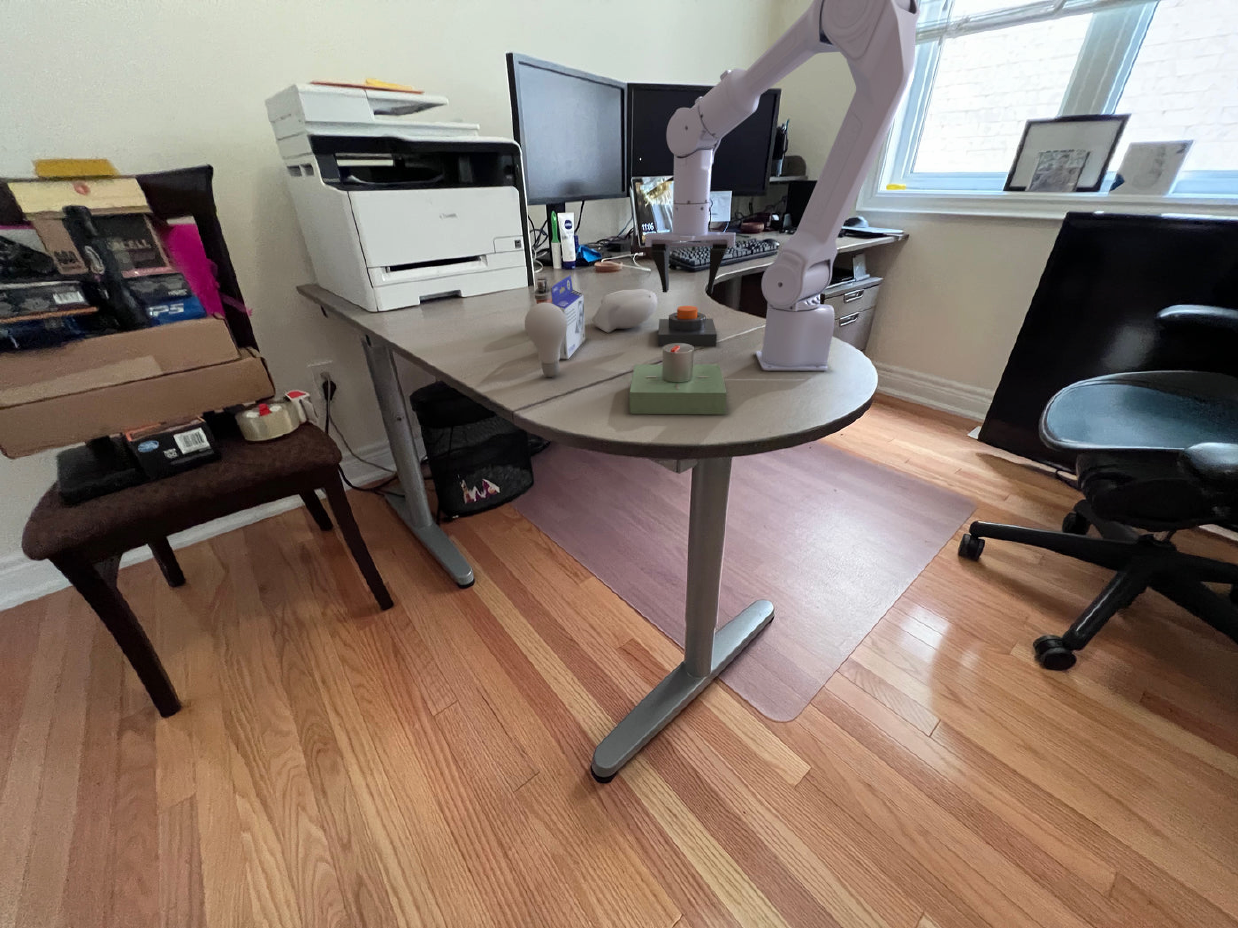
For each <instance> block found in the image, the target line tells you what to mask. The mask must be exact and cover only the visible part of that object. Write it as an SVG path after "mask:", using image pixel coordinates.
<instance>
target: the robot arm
mask: <svg viewBox="0 0 1238 928" xmlns="http://www.w3.org/2000/svg"><path fill="white" fill-rule="evenodd" d="M920 15H921V9H920V7H919V4H918V2H917V0H813V1H812V2H811V4H810V5H809V7H808V8H807V9H806V11H805V12H803V14H801V16H800V17H799V18H798V19H797V20H796V21H795V22H794V23H793V24H792V25H791V26H790V27H788V28H787V29H786V30H785V32H784V33H783V34H782V35H780V37H778V38H777V40H776V41H774V42H773V43H772V45H770V47H769V48H768V49H766V50H765V51H764V53H763V54H761V55H760V57H758V58H757V59H756V60H755V61H754V62H753V63H752V64H751V65H750V66H749V68H747V69H743V68H738V67H736V68H733V69H732V70H730V69H726V70H725V71H724V72H722V73H721V74H720V75H719V79H720V81H719V82H717V84H715V85H714V86H713V87H712V88H711V89H710V90H709V91H708V92H707V93H706V94H705V95H703V96H698V97H697V98H696V99H695V101H694V105H693V106H692V107H680V108H677V109H676V111H675V112H674V114H673V115H672V116H671V118H670V119H669V122H668V124H667V128H666V143H667V147H668V149H669V150H670V152H671V153H672V154H673V183H672V184H673V186H672V187H673V189H672V230H671V231H666V232H662V231H661V232H646V233H645V234H644V246H645V247H646V248H651V249H650V256H651V258H652V259H653V261H654V264H655V267H656V269H657V273H658V276H659V279H660V283H661V289H662V293H665V294H666V293H668V291H669V290H670V289H669V288H670V278H669V277H670V275H669V274H670V273H669V265H670V252H671V247H711V248H710V249H709V273H708V274H709V275H708V281H707V282H708V283H707V289H706V291H707V295H708V294H709V295H712V293H713V291H714V285H715V280H716V278H717V274H718V271H719V268H720V267H721V264H722V262H723V259H724V257H725V255H726V253H727V251H728V248H734V247H735V244H736V232H726V231H725V232H723V231H709V216H710V215H709V214H710V199H711V196H710V195H711V180H712V166H713V164H714V162H715V161H714V158H715V153H716V151H717V150H718V148H719V146H720V144H721V140H722V139H723V138H724V137H725V136H726V135H727V134H729V133H730V132H732V130H734V129H735V128H737V126H739V125H740V124H742V123H743V122H744V121H745V120H746V119H748V118H749V117H750V116H751V115H752V114H753V113H756V111H757V109H758V106H759V103H760V98H761V95H763V94H764V93H765V92H767V91H768V90H769V89H770V88H772V87H773V86H774V85H776V84H777V83H779V82H780V81H782V80H783V79H785V78H786V77H787V76H788V75H790V74H791V73H793V72H794V71H795V70H796V69H798V68H799V67H800V66H802V65H803V64H804V63H806V62H808V61H809V60H810V59H811V58H813V57H814V56H815V55H817V54H824V53H825V54H826V53H840V54H841V55H842V57H844V58H845V59H846V63H847V66H848V68H849V72H850V73H851V77H852V79H853V82H854V85H855V91H854V94H853V96H852V99H851V101H850V104H849V107H848V109H847V111H846V113H845V114H844V115H845V116H844V118H843V120H842V122H841V125H840V128H839V130H838V132H837V134H836V136H835V139H834V142H833V143H832V146H831V148H830V151H829V153H828V156H827V158H826V160H825V162H824V165H823V167H822V170H821V172H820V174H819V177H818V179H817V181H816V183H815V186H814V188H813V191H812V193H811V196H810V197H809V200H808V203H807V205H806V207H805V209H804V212H803V214H802V217H801V219H800V222H799V224H798V226H797V228H796V230H795V232H794V233H793V234H791V236H790V238H789V239H788V240H787V241H786V242H785V243H784V244H783V245H782V246H781V248H780V250H779V252H778V255H777V257H776V258H775V260H774V261H773V262H772V263H771V264H770V265H768V267H767V268H766V269H765V271H764V272H763V274H762V278H761V291H762V295H763V297H764V298H765V300H766V302H767V308H766V316H765V324H764V325H765V326H764V333H763V341H762V350H756V351H755V356H756V358H757V360H758V363H759V365H760V367H761V370H763V371H768V372H769V371H770V372H773V371H775V372H776V371H777V372H778V371H782V372H783V371H784V372H785V371H787V372H788V371H790V372H792V371H793V372H794V371H798V372H799V371H803V372H804V371H805V372H806V371H807V372H809V371H810V372H812V371H821V372H823V371H824V372H826V371H828V369H829V368H828V361H829V354H830V349H831V345H832V340H833V339H832V338H833V336H834V329H835V310H834V307H833V305H831V304H821V294H822V293H823V292H825V290H826V289H827V288H828V287H829V285H830V284H831V281H832V277H833V265H834V261H835V259H836V257H837V255H838V248H837V243H836V241H837V239H838V236H839V234H840V232H841V231H842V229H843V226H844V224H845V222H846V220H847V217H848V216H849V213H850V211H851V210H852V207H853V206H854V203H855V201H856V199H857V198H858V195H859V193H860V191H861V189H862V187H863V185H864V182H865V180H866V178H867V177H868V175H869V172H870V170H871V168H872V166H873V164H874V163H875V160H876V158H877V156H878V154H879V151H880V150H881V148H882V145H883V143H884V141H885V140H886V137H887V135H888V134H889V131H890V129H891V127H892V125H893V123H894V120H895V118H896V116H897V114H898V112H899V110H900V108H901V106H902V104H903V102H904V100H905V98H906V96H907V93H908V92H909V90H910V87H911V85H912V82H913V79H914V77H915V76H914V75H915V58H916V35H917V34H916V33H917V32H916V31H917V25H918V24H917V23H918V21H919V18H920Z"/></svg>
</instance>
